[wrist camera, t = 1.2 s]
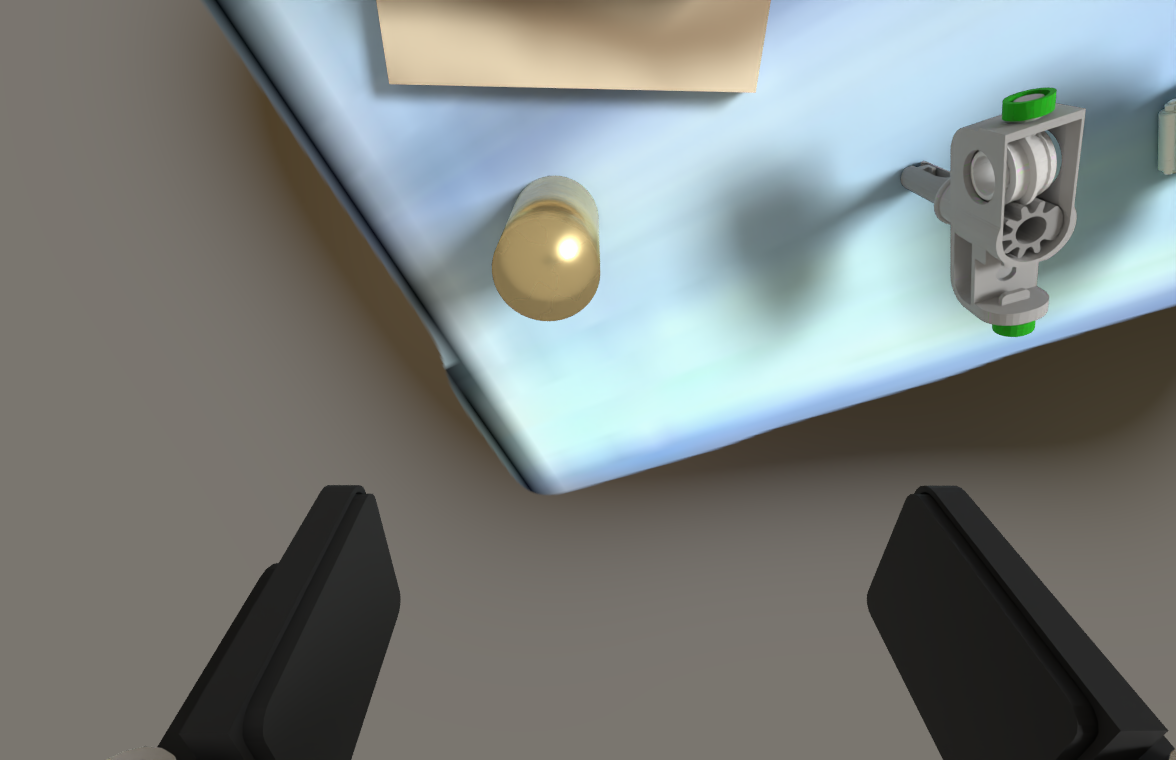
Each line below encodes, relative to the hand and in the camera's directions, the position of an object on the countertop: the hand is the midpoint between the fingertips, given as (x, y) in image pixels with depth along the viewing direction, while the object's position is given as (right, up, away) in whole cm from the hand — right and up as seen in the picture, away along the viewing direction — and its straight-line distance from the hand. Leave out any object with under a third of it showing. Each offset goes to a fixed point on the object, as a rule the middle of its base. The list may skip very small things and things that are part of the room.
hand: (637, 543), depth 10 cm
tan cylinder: (-3, +12, +22) cm, 26 cm away
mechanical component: (+17, +14, +21) cm, 31 cm away
